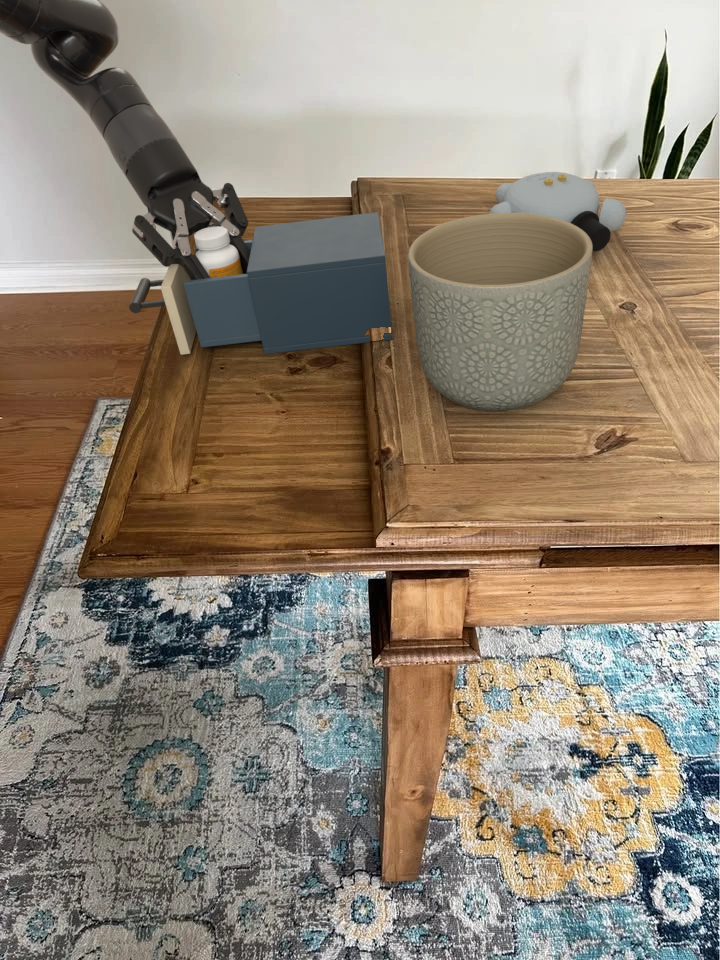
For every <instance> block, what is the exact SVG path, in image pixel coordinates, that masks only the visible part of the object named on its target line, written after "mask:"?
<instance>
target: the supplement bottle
mask: <svg viewBox="0 0 720 960" xmlns="http://www.w3.org/2000/svg"><path fill="white" fill-rule="evenodd" d="M193 238H194V242H195V243H194V244H195V247H197V248H198V249H199V250H198V251H197V252H196V251H195V253H194V254H195V255H196V256H197V258H198V259H199V261H200V263H201V264H202V266H203V267H204V269H205V270H206V272H207V273H208V275H209V276H210V278H216V277H224V276H233V275H241V274H243V271H242V267H241V262H240V257H239V253H238V250H237V249H236V248H235V247H234V246H233V245H230V244H229V243H230V238H229V234H228V230H227V229H226V228H224V227H219V226H218V227H208V228H204V229H202V230H199V231H198V232H194V234H193Z"/></svg>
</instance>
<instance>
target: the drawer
mask: <svg viewBox="0 0 720 960" xmlns="http://www.w3.org/2000/svg"><path fill="white" fill-rule="evenodd" d="M243 241H244V243H245V244H246V246H247V247H248V249H249V250H250V252H251V247H252V241H253V239H247V240H243ZM198 250H199V249H198V248H197V246H195V253H196V252H197V251H198ZM155 287H160V290H161V293H162V297H163V299H158V300H150V301H149V300H148V301H146V299H147V295H148V294H149V292H150V289H151V288H155ZM128 307H129V308H128V309H129V311H130V312H131V313H133V314H139V313H141V311H142V309H150V308H151V309H152V308H159V307H166V310H167V313H168V317H169V321H170V323H171V327H172V330H173V334H174V337H175V341H176V344H177V347H178V350H179V354H180V355H181V356H183V355H190V354H191V351H192V349H193V346H194V345H193V344H194V340H195V337H196V334H197V338H198V341H199V345H200V348H208V347H209V348H210V347H217V346H226V345H235V344H242V343H252V342H259V341H260V342H262V340H261V336H260V331H259V327H258V322H257V317H256V313H255V308H254V303H253V299H252V294H251V290H250V285H249V280H248V276H247V271H246V272H243V274H241V275H233V276H224V277H216V278H207V279H199V280H191V279H190V277H189V276H188V274H187V273H186V271H185V270H184V268H183V267H182V266H181V265H179V264H171V265H170V266H169V267H167V270H166V272H165V275H164V278H163V279H155V280H150V279H149V278H147V277H143V278H141V279H140V280H139V283H138V284H137V287H136V290H135V292H134V294H133V296H132V298H131V300H130V303H129V306H128Z"/></svg>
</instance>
